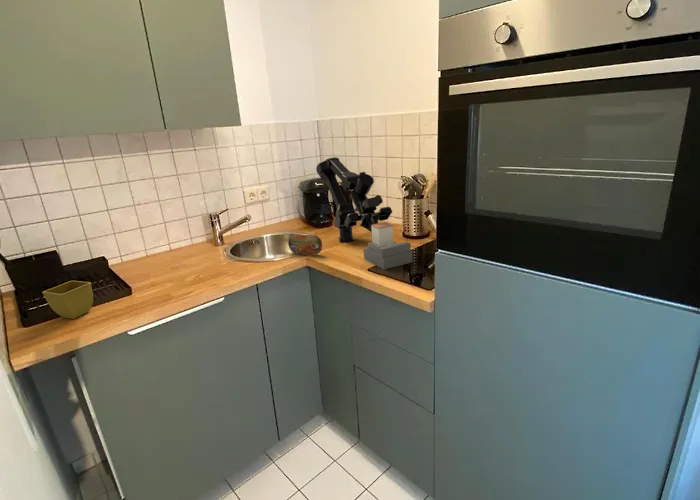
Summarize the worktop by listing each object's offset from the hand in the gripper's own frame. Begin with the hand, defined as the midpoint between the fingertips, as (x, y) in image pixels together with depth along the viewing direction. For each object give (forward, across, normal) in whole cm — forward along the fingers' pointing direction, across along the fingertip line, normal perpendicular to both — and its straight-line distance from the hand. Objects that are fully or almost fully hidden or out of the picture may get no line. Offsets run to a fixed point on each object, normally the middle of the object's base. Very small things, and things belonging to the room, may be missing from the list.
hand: (377, 235), depth 141 cm
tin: (-8, -22, +20) cm, 31 cm away
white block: (+5, 0, 0) cm, 5 cm away
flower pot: (-2, -98, +14) cm, 99 cm away
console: (+10, 0, +1) cm, 10 cm away
